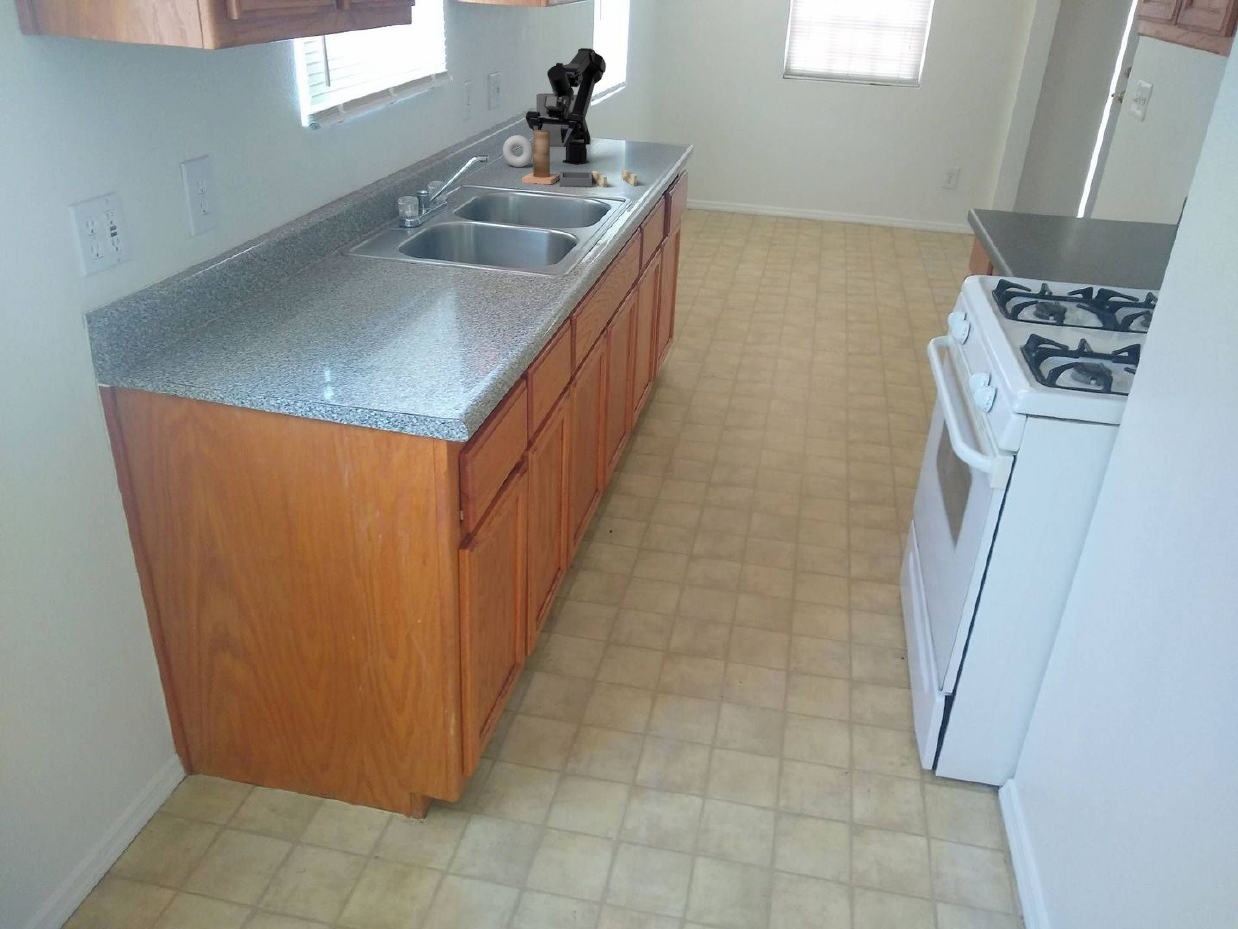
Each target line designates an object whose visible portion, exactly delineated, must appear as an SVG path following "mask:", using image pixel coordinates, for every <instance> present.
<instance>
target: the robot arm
mask: <svg viewBox="0 0 1238 929" xmlns="http://www.w3.org/2000/svg"><path fill="white" fill-rule="evenodd" d="M606 68H607V63H606V60H605V59H604V57H603V56H602V55H600V54H599V53H598V52H596V51H595V50H594V49H593V48H588V47H587V48H586V47H581V48H578V51H577V53H576V54H575V56H573V58H572V60H571V61H570V62H569V63H567V64H566V63H565V64H563V62H556V64H555V65H553V66H552V67H550V68H549V69H548V70H547V78H548V81H549V84H550V86H551V90H553V91H555V94H554V96H545V103H544V107H545V108H546V109H547V110H546V113H547V114H548V115H549V116H548V117H544V116H541V114H540V112H537V110H535V111H534V110H528V111H526V114H525V116H524V117H525V120H526V123H527V125H528V127H529V129H530V130H532V132H533V131H534V130H542V129H541V128H542V127H543V124H553V125H559V126H561V139H562V143H564V144H563V146H564V147H563V148H565V159H564V160H563V159H562V163H567V164H572V165H582V164H586V163H589V162H590V161H589V160H588V159H587V157H588V149H587V145H591V134H590V131H589V128H588V122H587V121H586V117H587V114H588V110H589V106H590V102H591V99H592V96H593V93H594V89H595V85H597V83H598V82H599V81H601V80H602V78H603V76H604V74H605V72H606V70H607V69H606ZM574 88H578V90H577V93H576V95H577V96H576V100H575V103H574V107H573V110H572V112H570V106H571V102H572V100H574V96H573V95H574V94H575V91H574Z"/></svg>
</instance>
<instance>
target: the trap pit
mask: <svg viewBox="0 0 1238 929" xmlns="http://www.w3.org/2000/svg"><path fill="white" fill-rule="evenodd" d="M559 175H560V180H559V187H560V186H564V188H566V187H567V188H593V181H592V171H591V172H585V171H584V172H583V171H560V172H559Z"/></svg>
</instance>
